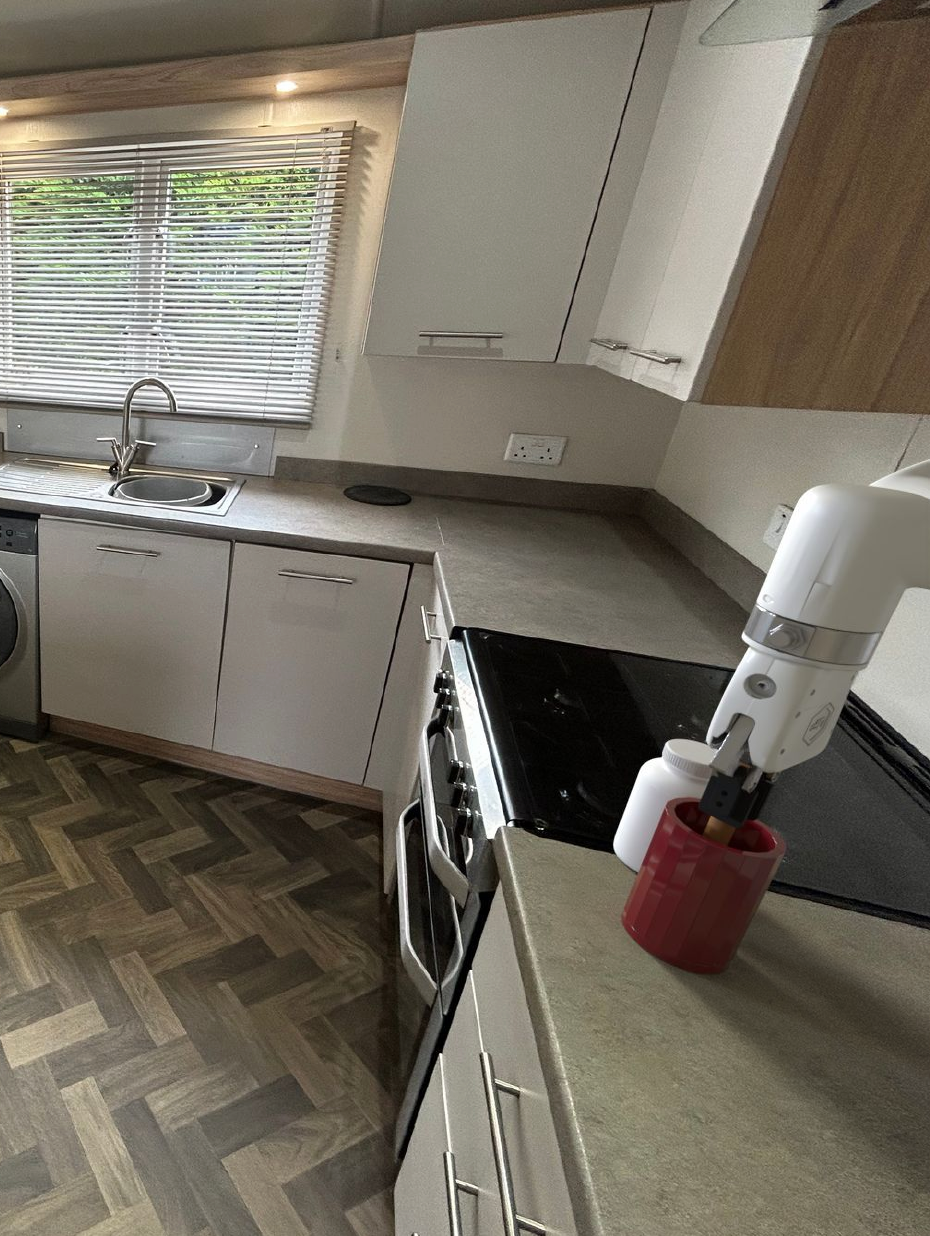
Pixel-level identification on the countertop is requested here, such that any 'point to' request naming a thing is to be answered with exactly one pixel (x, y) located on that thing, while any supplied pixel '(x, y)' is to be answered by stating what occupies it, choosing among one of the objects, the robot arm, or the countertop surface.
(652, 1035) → the countertop surface
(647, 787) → the pill bottle
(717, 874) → the red faceted pen holder
